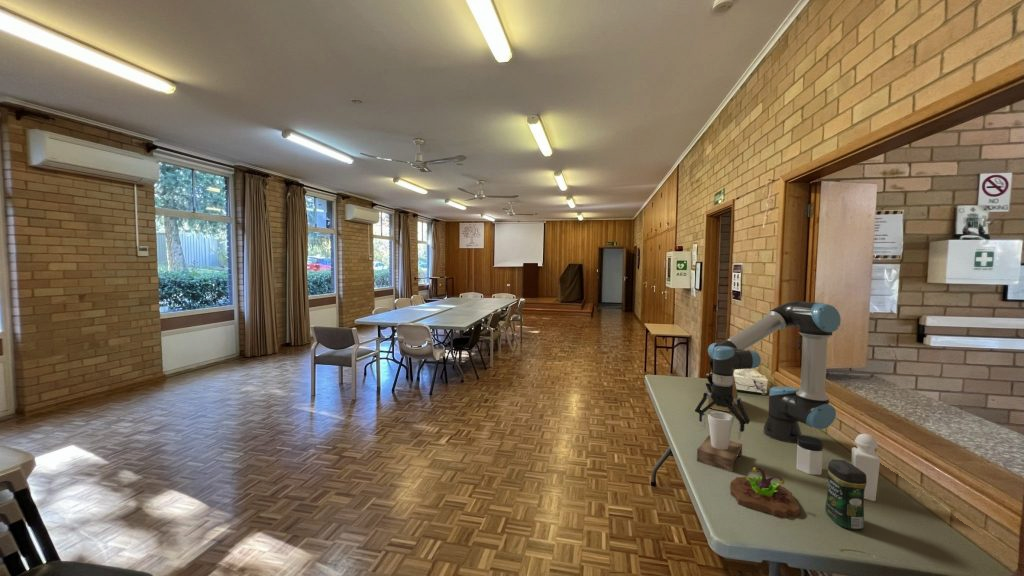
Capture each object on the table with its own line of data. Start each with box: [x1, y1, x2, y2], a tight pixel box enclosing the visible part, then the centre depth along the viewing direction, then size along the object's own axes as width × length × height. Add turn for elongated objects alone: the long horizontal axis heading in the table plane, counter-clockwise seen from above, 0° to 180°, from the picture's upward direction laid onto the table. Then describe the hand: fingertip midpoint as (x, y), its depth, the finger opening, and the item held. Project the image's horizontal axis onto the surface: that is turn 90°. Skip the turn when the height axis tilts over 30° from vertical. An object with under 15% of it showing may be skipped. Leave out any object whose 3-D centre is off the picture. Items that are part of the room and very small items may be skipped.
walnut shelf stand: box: [696, 434, 743, 472], centre depth 165 cm, size 13×18×5 cm
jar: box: [795, 435, 824, 476], centre depth 156 cm, size 9×8×12 cm
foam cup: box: [707, 411, 734, 450], centre depth 165 cm, size 10×9×13 cm
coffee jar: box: [824, 459, 867, 531], centre depth 124 cm, size 10×8×19 cm
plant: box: [729, 466, 801, 518], centre depth 137 cm, size 20×20×11 cm
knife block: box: [705, 358, 739, 413], centre depth 224 cm, size 11×35×31 cm, turn 141°
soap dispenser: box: [851, 433, 881, 502], centre depth 138 cm, size 6×6×22 cm
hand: (720, 434), depth 165 cm, fingers open, 13 cm apart
